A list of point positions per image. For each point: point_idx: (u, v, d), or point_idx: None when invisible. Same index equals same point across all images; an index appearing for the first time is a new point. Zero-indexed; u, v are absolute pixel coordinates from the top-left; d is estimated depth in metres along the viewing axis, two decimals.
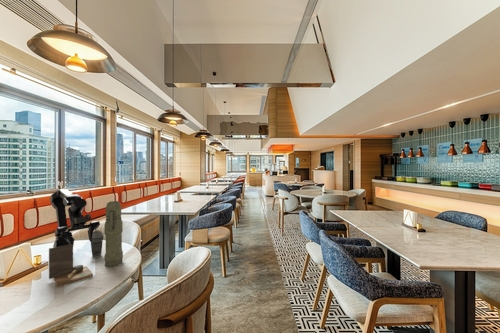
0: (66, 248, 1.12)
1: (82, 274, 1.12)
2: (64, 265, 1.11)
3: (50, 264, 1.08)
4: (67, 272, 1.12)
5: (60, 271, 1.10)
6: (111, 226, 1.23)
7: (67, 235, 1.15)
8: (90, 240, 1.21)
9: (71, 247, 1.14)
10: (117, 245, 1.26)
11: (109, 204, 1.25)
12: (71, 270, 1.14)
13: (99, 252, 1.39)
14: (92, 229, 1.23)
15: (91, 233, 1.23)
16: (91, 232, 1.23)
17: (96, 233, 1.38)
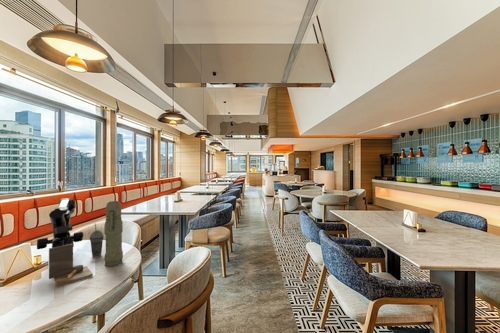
0: (66, 248, 1.12)
1: (82, 274, 1.12)
2: (64, 265, 1.11)
3: (50, 264, 1.08)
4: (67, 272, 1.12)
5: (60, 271, 1.10)
6: (111, 226, 1.23)
7: (58, 244, 1.17)
8: None
9: (71, 247, 1.14)
10: (117, 245, 1.26)
11: (109, 204, 1.25)
12: (71, 270, 1.14)
13: (99, 252, 1.39)
14: (65, 241, 1.19)
15: None
16: (64, 244, 1.18)
17: (96, 233, 1.38)
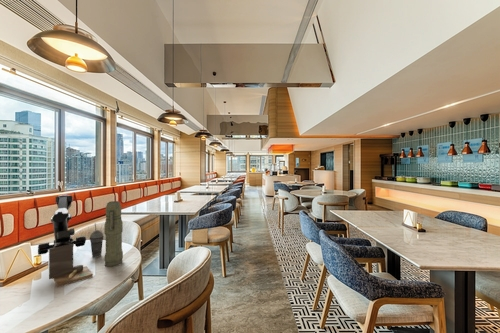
0: (67, 248, 1.12)
1: (82, 274, 1.12)
2: (64, 265, 1.11)
3: (50, 264, 1.07)
4: (67, 272, 1.12)
5: (60, 271, 1.10)
6: (111, 226, 1.23)
7: None
8: None
9: (71, 247, 1.14)
10: (117, 245, 1.26)
11: (109, 204, 1.25)
12: (71, 270, 1.13)
13: (99, 252, 1.39)
14: None
15: None
16: None
17: (96, 233, 1.38)
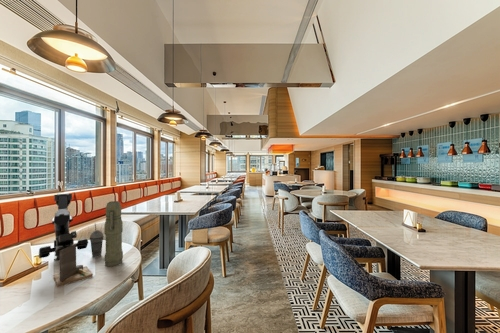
0: (72, 248, 1.12)
1: (82, 274, 1.12)
2: (71, 266, 1.11)
3: (62, 266, 1.05)
4: (72, 273, 1.12)
5: (68, 272, 1.09)
6: (111, 226, 1.23)
7: None
8: None
9: (75, 247, 1.13)
10: (117, 245, 1.26)
11: (109, 204, 1.25)
12: (75, 270, 1.13)
13: (99, 252, 1.39)
14: None
15: None
16: None
17: (96, 233, 1.38)
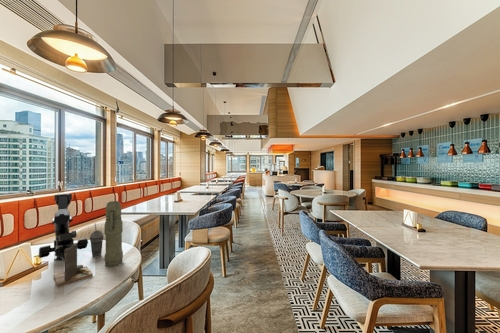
0: (74, 248, 1.12)
1: (82, 274, 1.12)
2: (73, 265, 1.11)
3: (67, 265, 1.06)
4: (74, 272, 1.12)
5: (72, 272, 1.09)
6: (111, 226, 1.23)
7: (61, 252, 1.10)
8: None
9: (76, 247, 1.14)
10: (117, 245, 1.26)
11: (109, 204, 1.25)
12: (76, 270, 1.13)
13: (99, 252, 1.39)
14: None
15: None
16: None
17: (96, 233, 1.38)
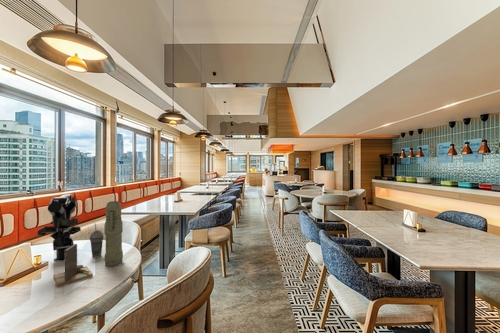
0: (74, 248, 1.12)
1: (82, 274, 1.12)
2: (73, 265, 1.11)
3: (67, 265, 1.06)
4: (74, 272, 1.12)
5: (72, 272, 1.09)
6: (111, 226, 1.23)
7: (60, 235, 1.20)
8: (62, 245, 1.20)
9: (76, 247, 1.14)
10: (117, 245, 1.26)
11: (109, 204, 1.25)
12: (76, 270, 1.13)
13: (99, 252, 1.39)
14: (66, 234, 1.23)
15: (64, 238, 1.22)
16: (65, 237, 1.22)
17: (96, 233, 1.38)
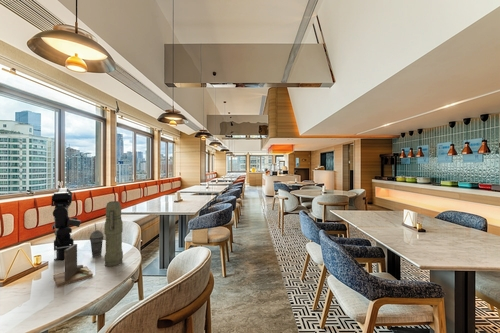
0: (74, 248, 1.12)
1: (82, 274, 1.12)
2: (73, 265, 1.11)
3: (67, 265, 1.06)
4: (74, 272, 1.12)
5: (72, 272, 1.09)
6: (111, 226, 1.23)
7: (65, 234, 1.23)
8: (62, 243, 1.23)
9: (76, 247, 1.14)
10: (117, 245, 1.26)
11: (109, 204, 1.25)
12: (76, 270, 1.13)
13: (99, 252, 1.39)
14: None
15: None
16: None
17: (96, 233, 1.38)
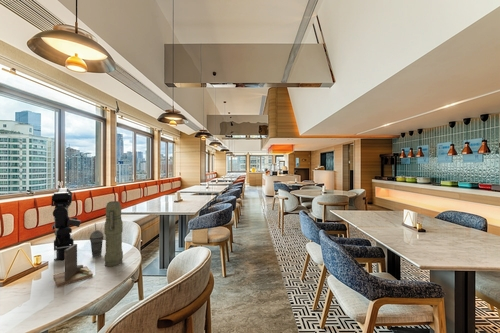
0: (74, 248, 1.12)
1: (82, 274, 1.12)
2: (73, 265, 1.11)
3: (67, 265, 1.06)
4: (74, 272, 1.12)
5: (72, 272, 1.09)
6: (111, 226, 1.23)
7: (65, 234, 1.23)
8: (62, 243, 1.23)
9: (76, 247, 1.14)
10: (117, 245, 1.26)
11: (109, 204, 1.25)
12: (76, 270, 1.13)
13: (99, 252, 1.39)
14: None
15: None
16: None
17: (96, 233, 1.38)
